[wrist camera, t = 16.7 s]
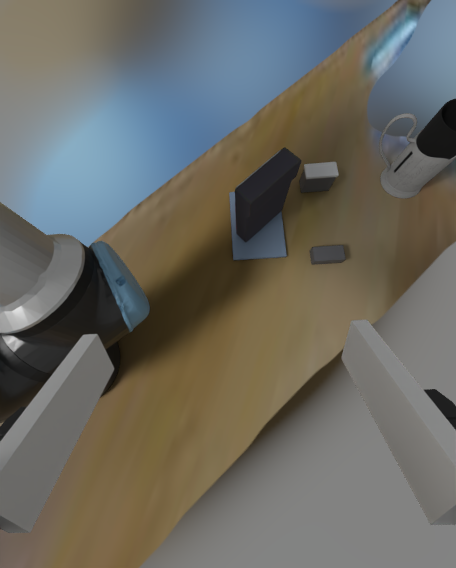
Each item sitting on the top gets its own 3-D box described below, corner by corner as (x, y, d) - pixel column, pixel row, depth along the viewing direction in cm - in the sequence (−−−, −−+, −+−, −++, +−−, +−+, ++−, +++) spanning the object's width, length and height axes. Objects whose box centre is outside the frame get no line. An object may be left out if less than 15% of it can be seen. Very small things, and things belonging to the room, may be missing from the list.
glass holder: (419, 202, 49) (495, 144, 34) (352, 187, 51) (397, 125, 36) (424, 169, 51) (497, 100, 36) (359, 155, 53) (404, 84, 38)
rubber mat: (233, 260, 48) (233, 259, 47) (229, 194, 52) (229, 192, 51) (286, 256, 47) (286, 255, 47) (278, 190, 51) (278, 188, 51)
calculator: (269, 200, 50) (281, 143, 36) (284, 212, 49) (302, 159, 35) (233, 232, 49) (230, 185, 34) (247, 245, 48) (250, 203, 33)
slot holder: (310, 264, 47) (318, 255, 42) (298, 180, 52) (304, 164, 47) (342, 262, 47) (354, 253, 42) (327, 178, 51) (336, 161, 47)
